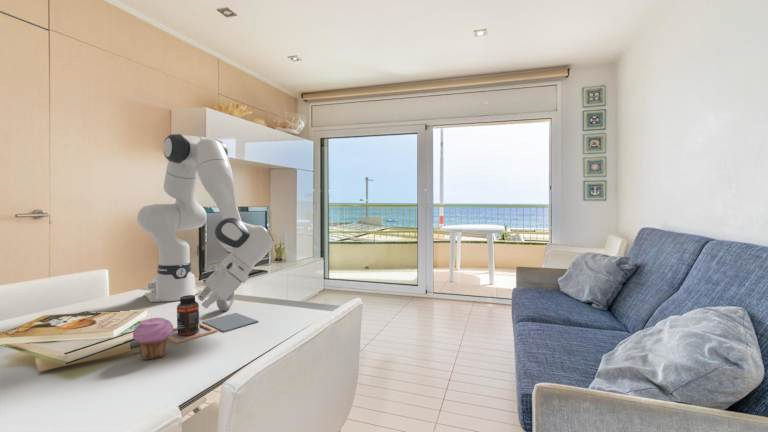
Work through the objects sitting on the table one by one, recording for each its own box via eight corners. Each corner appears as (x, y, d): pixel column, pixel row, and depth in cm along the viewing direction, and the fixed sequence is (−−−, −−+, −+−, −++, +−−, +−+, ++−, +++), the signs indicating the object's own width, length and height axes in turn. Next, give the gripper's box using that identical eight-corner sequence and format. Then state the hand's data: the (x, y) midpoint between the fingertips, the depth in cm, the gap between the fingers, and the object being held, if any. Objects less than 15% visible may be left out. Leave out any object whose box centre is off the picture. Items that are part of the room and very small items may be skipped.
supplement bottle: (203, 329, 113) (203, 294, 112) (191, 337, 107) (190, 299, 106) (185, 329, 113) (185, 293, 113) (172, 336, 107) (172, 298, 107)
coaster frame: (158, 333, 109) (158, 332, 109) (199, 323, 118) (199, 321, 118) (176, 343, 102) (176, 341, 102) (217, 331, 111) (217, 329, 111)
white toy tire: (224, 314, 128) (223, 286, 127) (214, 314, 128) (214, 286, 128) (236, 306, 138) (236, 280, 137) (227, 306, 138) (227, 280, 138)
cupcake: (131, 366, 88) (131, 326, 87) (135, 353, 95) (134, 316, 95) (174, 358, 92) (173, 320, 92) (173, 346, 100) (173, 311, 99)
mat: (202, 322, 119) (202, 321, 119) (235, 313, 129) (235, 312, 129) (224, 332, 111) (224, 331, 111) (258, 322, 120) (258, 320, 120)
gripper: (220, 258, 124) (189, 290, 119) (233, 267, 107) (197, 304, 102) (234, 269, 127) (204, 301, 122) (249, 280, 110) (215, 317, 105)
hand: (201, 303), depth 112 cm, fingers open, 8 cm apart
